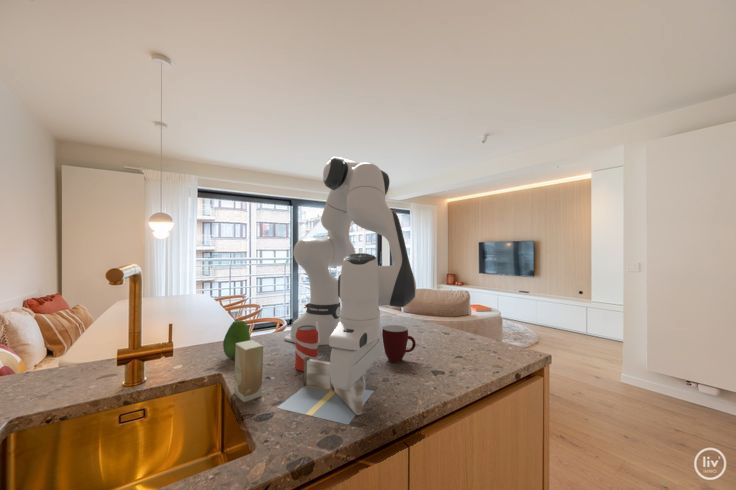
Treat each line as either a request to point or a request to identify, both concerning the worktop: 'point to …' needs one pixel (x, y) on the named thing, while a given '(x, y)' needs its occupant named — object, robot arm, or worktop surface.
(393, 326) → the mug
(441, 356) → the worktop surface
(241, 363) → the skincare box
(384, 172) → the robot arm
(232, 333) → the fruit
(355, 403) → the fence panel
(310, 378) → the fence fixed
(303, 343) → the beverage can
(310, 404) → the card
